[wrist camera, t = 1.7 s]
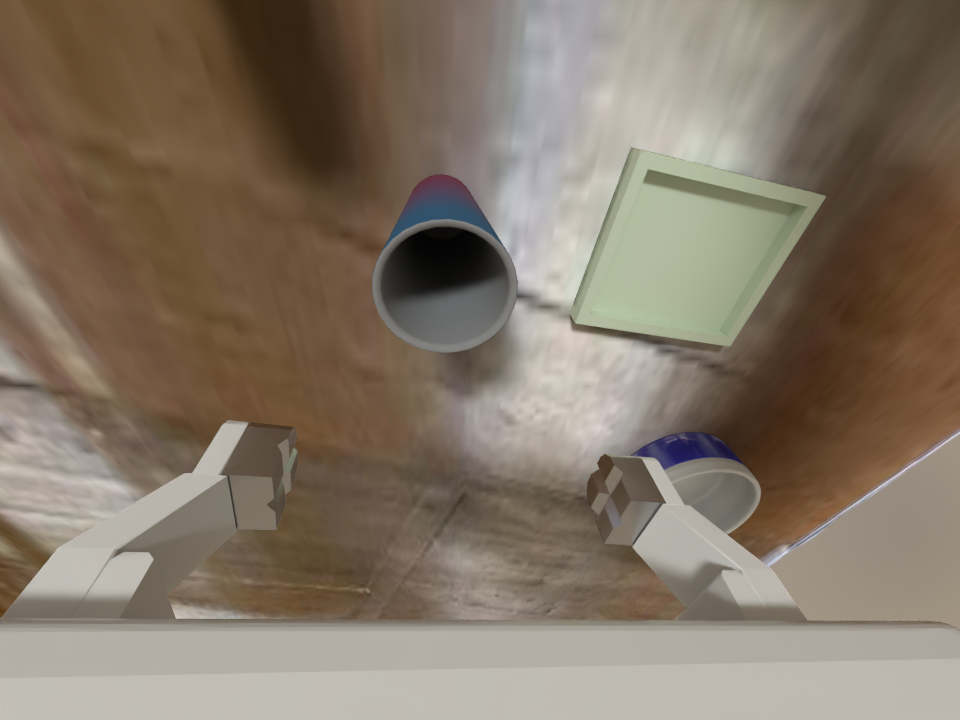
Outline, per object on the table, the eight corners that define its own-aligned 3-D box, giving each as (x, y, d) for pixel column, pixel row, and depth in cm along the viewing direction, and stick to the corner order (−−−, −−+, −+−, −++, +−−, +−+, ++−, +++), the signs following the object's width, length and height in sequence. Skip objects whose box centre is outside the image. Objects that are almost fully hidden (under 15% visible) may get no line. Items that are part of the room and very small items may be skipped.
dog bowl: (605, 450, 49) (625, 492, 44) (735, 415, 48) (770, 454, 43) (617, 521, 58) (635, 562, 53) (727, 493, 56) (755, 533, 51)
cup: (472, 261, 34) (494, 363, 22) (390, 241, 33) (363, 339, 20) (496, 175, 31) (538, 240, 18) (405, 149, 29) (383, 200, 17)
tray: (631, 147, 30) (641, 150, 29) (809, 191, 33) (826, 196, 32) (569, 313, 38) (575, 323, 36) (719, 337, 41) (730, 346, 39)
